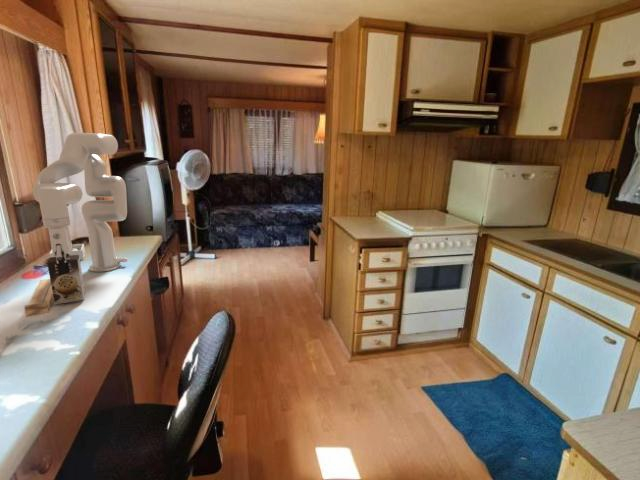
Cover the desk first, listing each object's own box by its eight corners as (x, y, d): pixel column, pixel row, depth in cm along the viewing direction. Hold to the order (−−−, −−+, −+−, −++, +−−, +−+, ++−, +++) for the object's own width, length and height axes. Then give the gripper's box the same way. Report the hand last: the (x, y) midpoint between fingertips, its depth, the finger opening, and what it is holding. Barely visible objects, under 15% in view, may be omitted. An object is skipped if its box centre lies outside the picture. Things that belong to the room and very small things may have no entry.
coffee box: (54, 304, 127) (45, 262, 123) (57, 297, 133) (49, 256, 128) (84, 300, 132) (77, 259, 127) (86, 293, 137) (79, 253, 132)
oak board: (59, 282, 149) (57, 274, 148) (48, 313, 124) (46, 303, 123) (41, 284, 146) (39, 276, 145) (26, 316, 121) (24, 307, 120)
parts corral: (85, 252, 185) (83, 243, 184) (83, 259, 175) (82, 250, 174) (54, 256, 179) (53, 246, 178) (51, 263, 169) (49, 253, 168)
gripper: (67, 226, 119) (75, 276, 124) (72, 216, 133) (79, 261, 138) (38, 228, 115) (49, 280, 120) (47, 217, 130) (56, 263, 134)
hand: (65, 269), depth 129 cm, fingers closed on coffee box, 6 cm apart
